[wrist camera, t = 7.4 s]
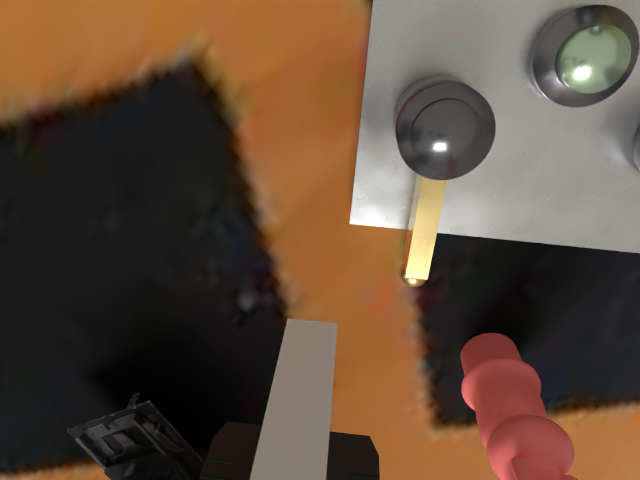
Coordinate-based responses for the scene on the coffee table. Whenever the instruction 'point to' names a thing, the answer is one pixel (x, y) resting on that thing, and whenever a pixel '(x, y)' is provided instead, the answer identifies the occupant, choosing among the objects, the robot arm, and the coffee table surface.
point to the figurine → (512, 412)
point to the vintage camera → (138, 445)
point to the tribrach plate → (513, 117)
